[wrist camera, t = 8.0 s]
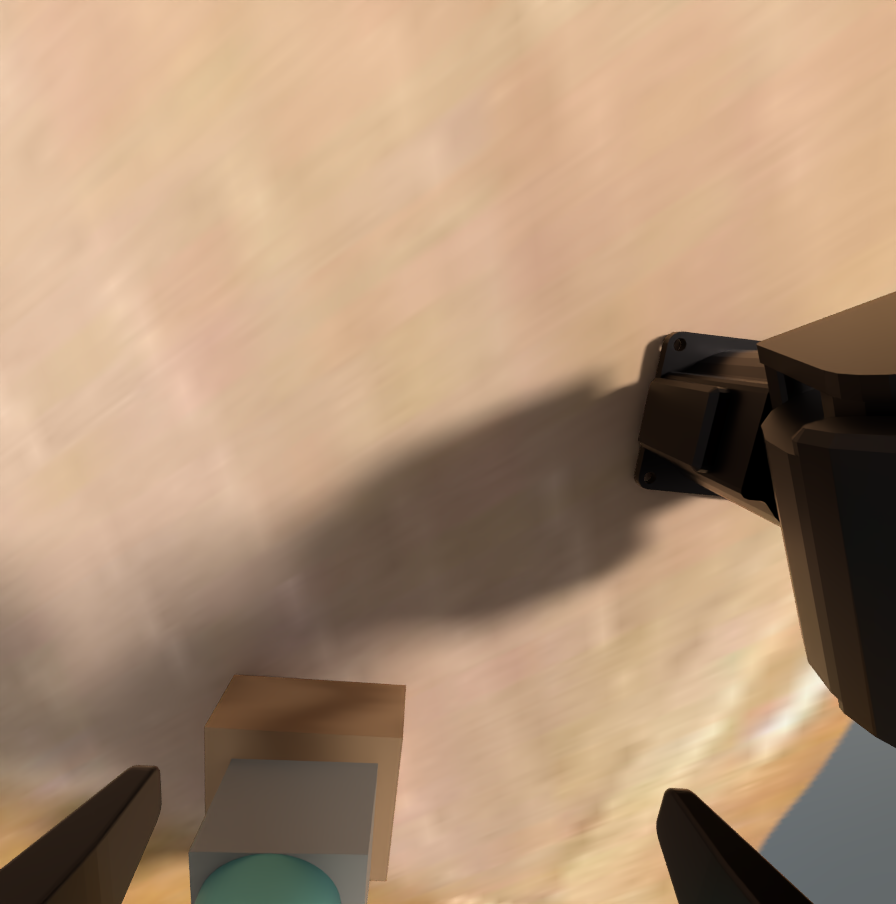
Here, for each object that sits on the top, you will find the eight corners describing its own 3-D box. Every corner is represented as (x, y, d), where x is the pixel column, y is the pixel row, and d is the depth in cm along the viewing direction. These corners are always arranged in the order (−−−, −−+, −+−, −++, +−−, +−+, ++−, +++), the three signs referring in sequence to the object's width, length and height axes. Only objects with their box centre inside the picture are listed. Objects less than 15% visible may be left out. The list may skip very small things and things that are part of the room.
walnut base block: (406, 677, 22) (402, 738, 19) (392, 804, 24) (386, 881, 21) (239, 666, 21) (204, 727, 18) (237, 797, 23) (205, 875, 20)
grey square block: (378, 762, 19) (368, 854, 16) (370, 870, 20) (359, 975, 17) (231, 758, 18) (188, 852, 15) (234, 868, 20) (194, 976, 16)
